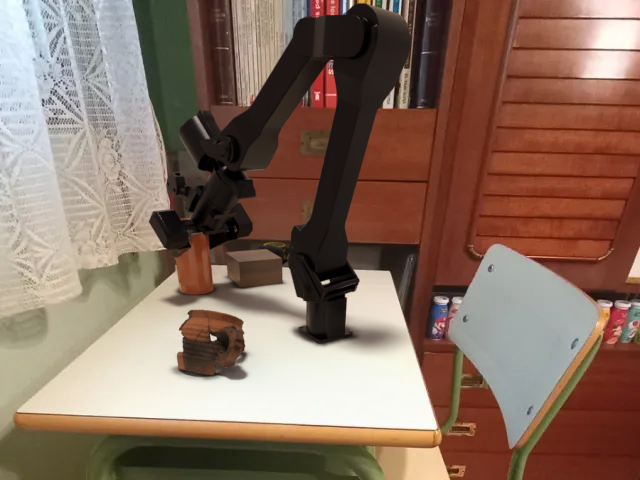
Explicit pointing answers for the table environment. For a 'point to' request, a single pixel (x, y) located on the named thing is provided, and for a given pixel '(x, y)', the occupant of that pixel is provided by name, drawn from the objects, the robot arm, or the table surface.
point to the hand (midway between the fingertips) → (188, 253)
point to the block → (254, 268)
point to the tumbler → (195, 266)
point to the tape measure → (275, 249)
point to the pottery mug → (198, 342)
